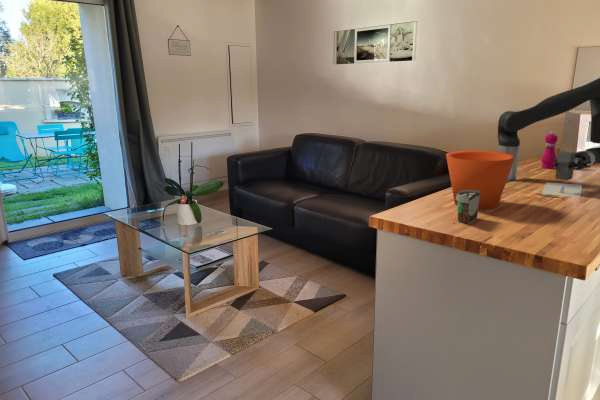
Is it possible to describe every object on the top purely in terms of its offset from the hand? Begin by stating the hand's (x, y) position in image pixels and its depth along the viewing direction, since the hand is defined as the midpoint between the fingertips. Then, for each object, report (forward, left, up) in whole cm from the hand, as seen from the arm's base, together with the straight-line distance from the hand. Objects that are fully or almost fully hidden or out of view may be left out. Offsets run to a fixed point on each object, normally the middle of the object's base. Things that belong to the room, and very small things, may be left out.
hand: (562, 165), depth 180 cm
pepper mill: (+28, +60, -13) cm, 68 cm away
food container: (-50, -28, -13) cm, 59 cm away
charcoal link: (+2, +2, -6) cm, 7 cm away
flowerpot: (-38, -8, -13) cm, 41 cm away
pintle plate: (+6, +7, -13) cm, 16 cm away
